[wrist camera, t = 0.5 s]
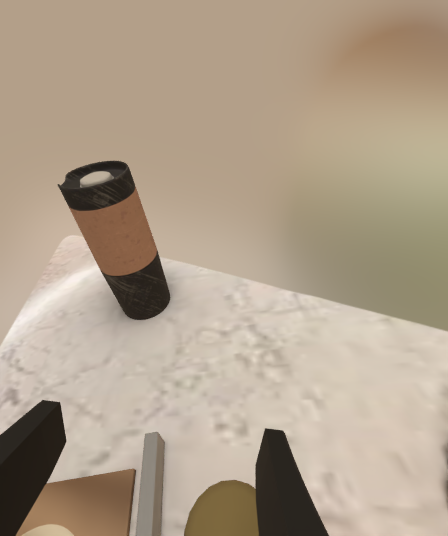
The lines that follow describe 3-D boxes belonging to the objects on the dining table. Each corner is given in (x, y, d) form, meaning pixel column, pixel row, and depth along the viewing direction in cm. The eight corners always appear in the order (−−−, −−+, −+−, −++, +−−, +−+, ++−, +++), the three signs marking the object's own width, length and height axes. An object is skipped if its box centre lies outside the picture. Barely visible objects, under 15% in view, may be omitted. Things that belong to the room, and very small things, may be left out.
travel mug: (182, 296, 44) (143, 166, 31) (141, 330, 39) (77, 195, 27) (151, 278, 48) (105, 156, 35) (111, 306, 44) (44, 180, 31)
